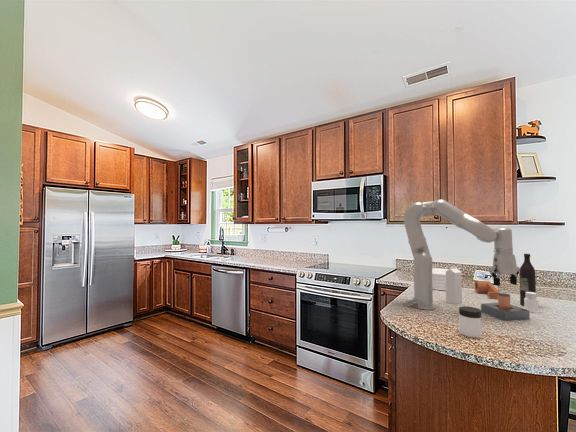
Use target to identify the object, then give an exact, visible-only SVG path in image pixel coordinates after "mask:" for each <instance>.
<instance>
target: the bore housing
mask: <svg viewBox="0 0 576 432" xmlns="http://www.w3.org/2000/svg"><path fill="white" fill-rule="evenodd" d="M480 310H481V314H484V315H488V316H491V317H493V318H496V319H499V320H502V321H504V322H508V321H512V322H513V321H529V320H530V319H531V318H530V315H531V314H530V313H531V312H530V311H529V310H526V309H524V308H523V307H520V306H517V305H513V304H512V303H510V309H503V308H500V307H498V302H487V303H483V302H482V303H481V304H480Z"/></svg>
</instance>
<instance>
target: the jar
mask: <svg viewBox="0 0 576 432" xmlns="http://www.w3.org/2000/svg"><path fill="white" fill-rule="evenodd" d="M482 317H483V315H482V312H481V308H477V307H473V306H469V305H468V306H465V305H463V306H460V307H459V308H458V333H459V334H460V335H463V336H465V337H469V338H477V339H478V338H479V339H481V338H482V336H483V322H482V321H483V318H482Z"/></svg>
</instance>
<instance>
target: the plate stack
mask: <svg viewBox="0 0 576 432" xmlns="http://www.w3.org/2000/svg"><path fill="white" fill-rule="evenodd" d="M447 270H450V268H439V267H432V286H433V290H437V291H446V271H447Z"/></svg>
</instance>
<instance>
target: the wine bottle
mask: <svg viewBox="0 0 576 432" xmlns="http://www.w3.org/2000/svg"><path fill="white" fill-rule="evenodd" d="M523 257H524V259H523V262H522V264H521V265H520V267H519V268H520V271H519V299H520V301H519V302H520V305H522V306H524V298H526V293H525V292H534V293H537V289H536V288H537V287H536V284H537V283H536V280H537V279H536V270H535V269H536V268H535V267H534V266H533V264H532V263H531V254H530V253H523Z"/></svg>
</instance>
